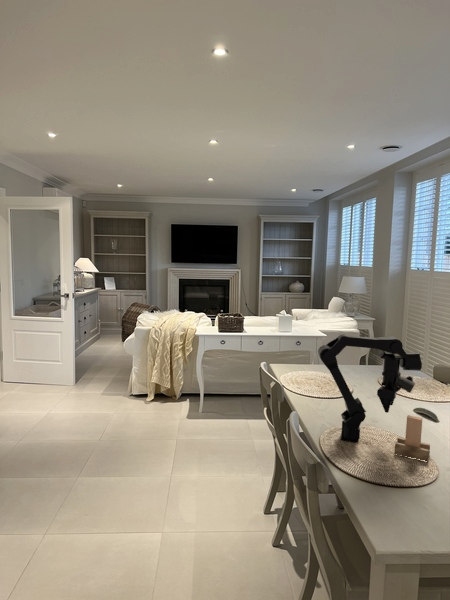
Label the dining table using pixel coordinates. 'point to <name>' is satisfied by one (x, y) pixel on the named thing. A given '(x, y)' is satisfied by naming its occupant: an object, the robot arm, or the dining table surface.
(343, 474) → the dining table surface
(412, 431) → the clay block
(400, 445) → the tan u-shaped channel
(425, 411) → the ceramic fragment
